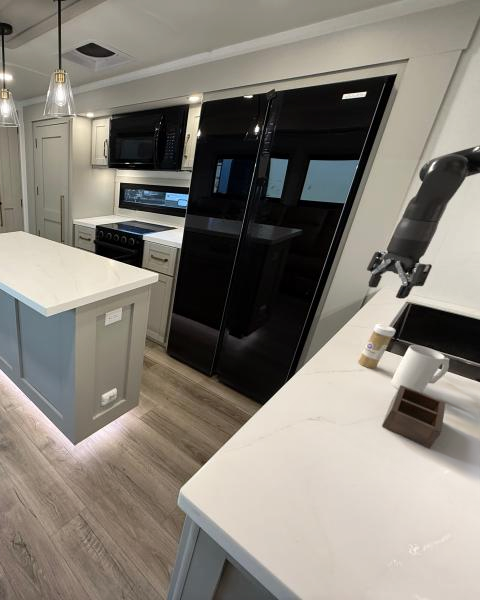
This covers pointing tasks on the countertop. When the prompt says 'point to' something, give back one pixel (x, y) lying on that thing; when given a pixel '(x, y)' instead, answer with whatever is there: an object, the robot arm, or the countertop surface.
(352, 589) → the countertop surface
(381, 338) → the sprinkles bottle
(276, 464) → the countertop surface
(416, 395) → the rack
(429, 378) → the mug
